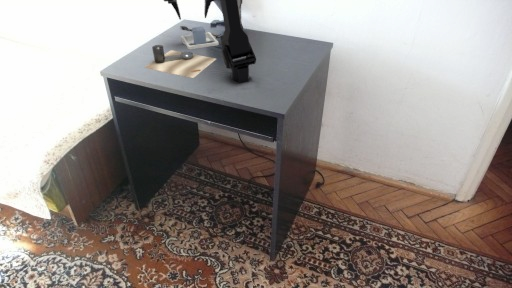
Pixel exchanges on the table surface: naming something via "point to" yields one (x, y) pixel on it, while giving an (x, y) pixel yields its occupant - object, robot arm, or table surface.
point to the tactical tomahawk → (205, 32)
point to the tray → (189, 40)
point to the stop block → (199, 35)
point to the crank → (161, 58)
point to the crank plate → (182, 65)
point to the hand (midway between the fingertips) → (192, 18)
